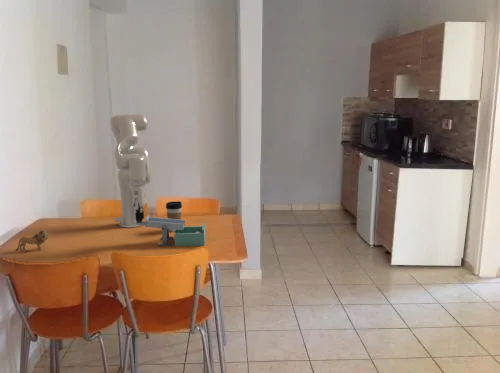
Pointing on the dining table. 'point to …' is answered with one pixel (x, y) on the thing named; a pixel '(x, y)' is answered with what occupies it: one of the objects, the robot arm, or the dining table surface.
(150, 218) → the chute
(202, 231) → the bin
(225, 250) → the dining table surface
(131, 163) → the robot arm
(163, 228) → the chute stand
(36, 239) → the lion figurine
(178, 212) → the coffee cup
